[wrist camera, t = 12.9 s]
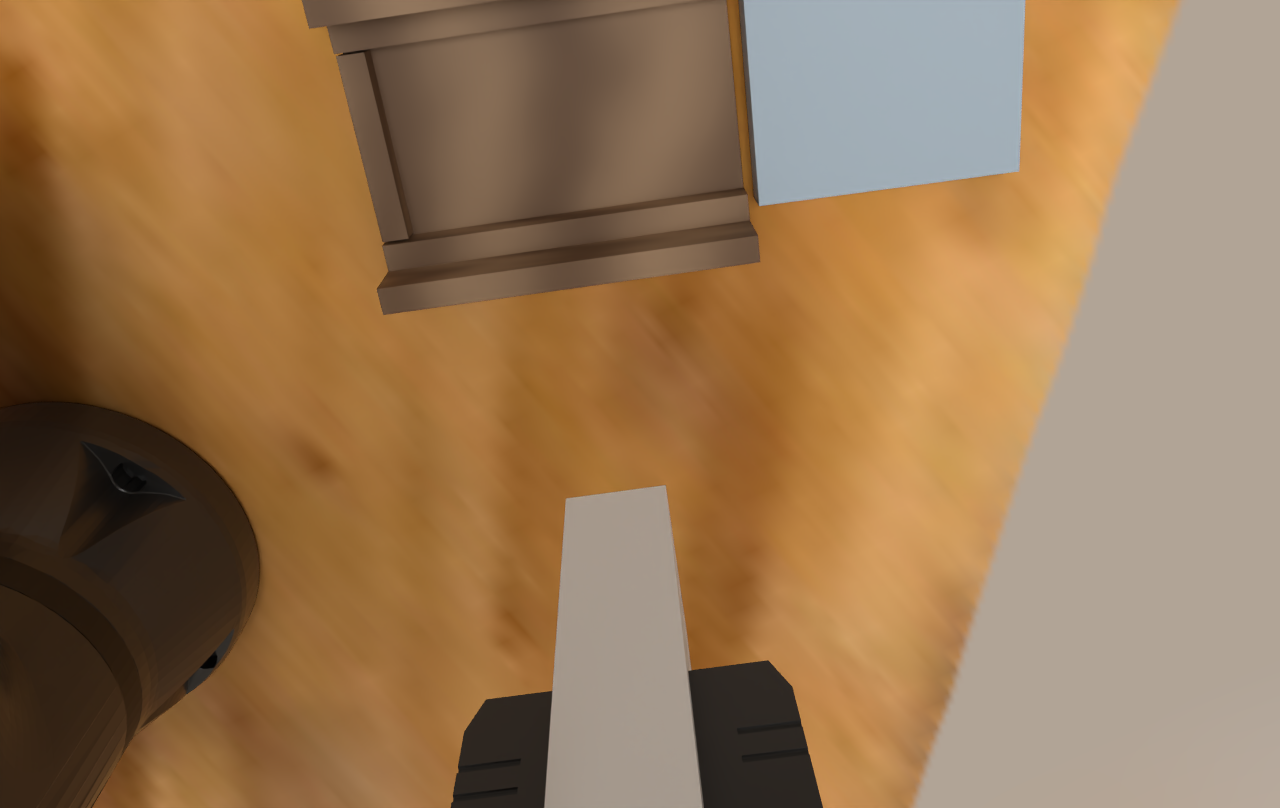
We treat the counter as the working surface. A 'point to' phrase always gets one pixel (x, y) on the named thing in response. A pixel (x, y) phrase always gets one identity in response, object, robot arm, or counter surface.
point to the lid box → (542, 142)
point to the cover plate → (879, 93)
